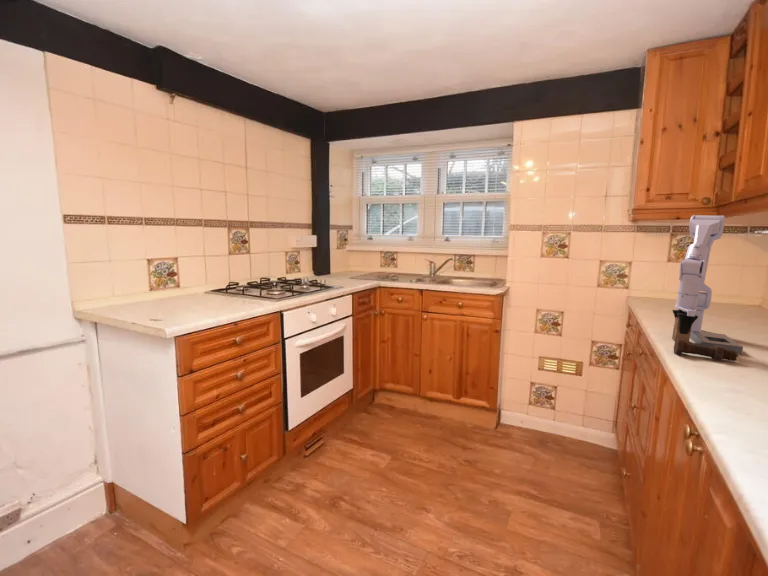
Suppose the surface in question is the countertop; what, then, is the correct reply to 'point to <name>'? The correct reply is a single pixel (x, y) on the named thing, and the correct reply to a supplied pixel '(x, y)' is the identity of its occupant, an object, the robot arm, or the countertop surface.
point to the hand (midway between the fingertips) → (681, 332)
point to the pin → (677, 334)
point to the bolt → (704, 350)
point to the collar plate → (715, 340)
